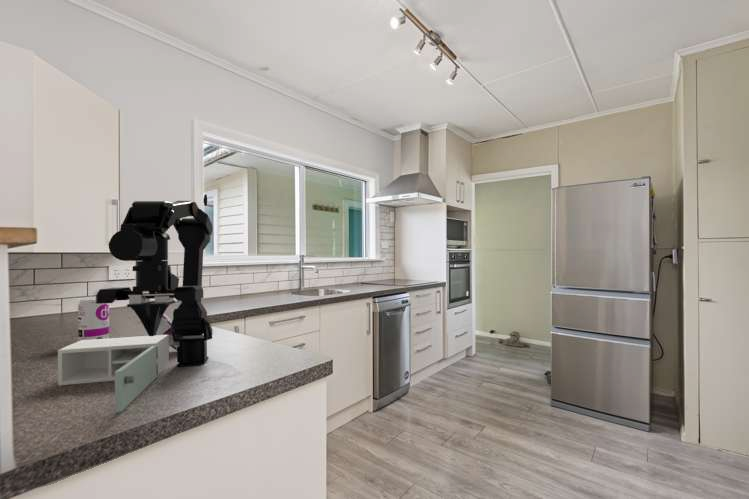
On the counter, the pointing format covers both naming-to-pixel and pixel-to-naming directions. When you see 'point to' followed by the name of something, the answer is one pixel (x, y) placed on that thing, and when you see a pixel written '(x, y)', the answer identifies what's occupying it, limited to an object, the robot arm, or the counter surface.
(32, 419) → the counter surface
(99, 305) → the supplement can
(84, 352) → the cupboard
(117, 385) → the door
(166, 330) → the candy bar box
